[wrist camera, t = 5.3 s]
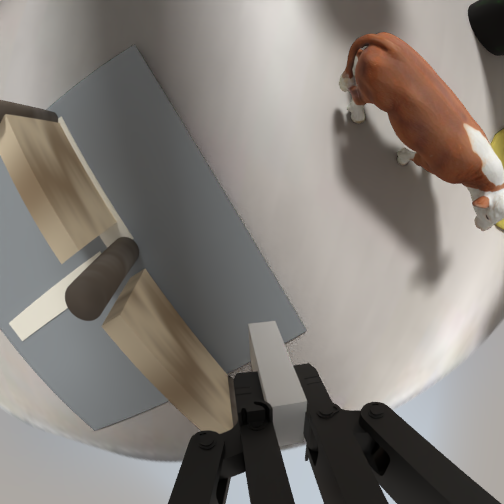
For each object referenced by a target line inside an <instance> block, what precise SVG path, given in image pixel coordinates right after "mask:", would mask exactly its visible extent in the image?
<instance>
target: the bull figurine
mask: <svg viewBox="0 0 504 504" xmlns="http://www.w3.org/2000/svg"><path fill="white" fill-rule="evenodd" d="M364 46H367V47H366V48H365V49H364V50H361V49H360V48H363V47H364ZM355 79H356V83H357V84H356V83H355ZM339 85H340V88H341V90H342V91H344V92H346V91H350V93H351V96H352V101H351V103H350V105H349V106H348V107H347V110H348V111H350V112H351V119H352V121H353V122H355V123H357V124H361V123H363V122H364V121H365V112H364V109H363V106H364V105H365V104H366V103H372V104H375V105H376V106H377V107H378V108H380V109H381V110H383V111H385V112H387V113H388V116H389V120H390V123H391V125H392V127H393V129H394V131H395V133H396V135H397V136H398V137H399V139H400V140H401V141H402V142H403V143H404V144H405V145H406V146H407V147H409V148H410V149H412V150H414V151H416V152H411V151H409V150H408V149H406V148H402V149H401V151H398V152H397V155H398V158H397V161H398V163H399V164H400V165H406V164H407V163H408V161H410V160H412V161H413V162H414V163H415V164H416V165H418V166H422V167H423V168H424V169H425V170H427V171H428V172H430V173H432V174H435V175H436V176H437V177H439V178H440V179H442V180H443V181H446V182H448V183H452V184H458V183H459V184H460V183H462V184H463V185H464V186H466V187H467V188H468V190H469V191H470V194H471V198H472V201H473V202H472V204H473V207H474V210H475V212H476V214H477V216H476V218H475V225H476V227H477V228H479V229H481V230H482V231H485V230H488V229H489V228H491V227H492V226H493V225H494V224H496V223H497V222H499V221H501V220H502V219H504V169H503V166H502V163H501V161H500V159H499V158H498V156H497V155H496V154H495V152H494V151H493V149H492V147H491V145H490V143H489V141H488V139H487V137H486V135H485V133H484V132H483V130H482V129H481V128H480V126H479V125H478V124H477V123H476V122H475V120H474V119H473V118H472V117H471V115H470V114H469V112H468V111H467V110H466V108H465V107H464V105H463V104H462V103H461V101H460V100H459V99H458V98H457V96H456V95H455V94H454V93H453V91H452V90H451V89H450V88H449V87H448V86H447V85H446V83H445V82H444V81H443V80H442V79H441V78H440V77H439V76H438V75H437V73H436V72H435V71H434V70H433V68H432V67H431V66H430V65H429V64H428V63H427V62H426V61H425V60H424V59H423V58H422V57H421V56H420V55H419V54H418V53H417V52H416V51H415V50H414V49H413V48H412V47H410V46H409V45H408V44H407V43H405V42H404V41H403V40H401V39H400V38H398V37H396V36H394V35H392V34H390V33H386V32H381V33H378V34H367V35H364V36H362V37H360V38H358V39H356V40H355V42H354V43H353V44H352V46H351V48H350V50H349V55H348V61H347V66H346V69H345V71H344V72H343V74H342V75H341V77H340V80H339Z"/></svg>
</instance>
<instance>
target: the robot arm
mask: <svg viewBox="0 0 504 504" xmlns="http://www.w3.org/2000/svg"><path fill="white" fill-rule="evenodd" d="M248 329H249V344H250V359H251V367H252V371H253V372H246V373H237V374H236V376H235V378H234V380H233V383H234V392H235V400H236V408H237V415H238V421H237V424H236V425H235V426H234V427H233V428H232V429H231V430H229V431H226V432H224V433H221V434H219V433H217V432H215V431H211V430H206V431H201V432H198V433H196V434H195V435H193V436H192V438H191V439H190V442H189V444H188V447H187V450H186V453H185V456H184V459H183V462H182V465H181V467H180V470H179V473H178V476H177V479H176V482H175V485H174V488H173V491H172V493H171V496H170V499H169V502H168V504H225V503H226V498H227V493H228V488H229V484H230V479H231V477H232V476H235V475H237V474H240V473H243V472H245V471H246V477H247V484H248V490H249V496H250V502H251V504H295V502H294V499H293V495H292V492H291V488H290V484H289V481H288V477H287V474H286V470H285V467H284V462H283V459H282V455H281V451H280V446H286V445H292V444H298V443H303V442H304V437H305V440H306V442H307V445H306V455H305V461H307V460H308V458H309V460H310V463H311V466H312V470H313V472H314V475H315V478H316V481H317V484H318V487H319V490H320V493H321V495H322V499H323V502H324V504H388V502H387V500H386V498H385V496H384V494H383V492H382V490H381V488H380V486H381V487H382V488H383V489H384V490H385V491H386V492H387V493H388V494H389V495H390V497H391V498H392V499H393V500H394V501H395V502H396V503H397V504H501V503H500V502H499V501H497V500H496V499H495V498H494V497H493V496H491V495H490V494H489V493H488V492H486V491H485V490H484V489H483V488H482V487H481V486H479V485H478V484H477V483H476V482H474V481H473V480H472V479H471V478H470V477H469V476H467V475H466V474H465V473H464V472H463V471H461V470H460V469H459V468H458V467H457V466H456V465H455V464H453V463H452V462H451V461H450V460H449V459H448V458H446V457H445V456H444V455H443V454H442V453H441V452H439V451H438V450H437V449H436V448H435V447H434V446H433V445H431V444H430V443H429V442H428V441H427V440H426V439H424V438H423V437H422V436H421V435H420V434H419V433H418V432H417V431H415V430H414V429H413V428H412V427H411V426H410V425H408V424H407V423H406V422H405V421H404V420H403V419H402V418H401V417H399V416H398V415H397V414H396V413H395V412H394V411H393V410H392V409H391V408H389V407H388V406H387V405H385V404H384V403H380V402H371V403H368V404H366V405H365V406H363V408H362V409H361V411H349V410H343V409H341V408H340V407H339V406H338V405H336V404H334V403H333V402H332V401H331V399H330V397H329V395H328V393H327V391H326V389H325V387H324V385H323V383H322V380H321V378H320V377H319V374H318V372H317V370H316V369H315V368H314V367H313V366H311V365H310V364H309V363H307V364H301V365H295V366H293V364H292V362H291V359H290V357H289V354H288V352H287V349H286V347H285V344H284V342H283V339H282V337H281V334H280V332H279V329H278V327H277V324H276V322H275V321H269V322H260V323H250V324H248ZM378 483H379V484H378ZM379 485H380V486H379Z"/></svg>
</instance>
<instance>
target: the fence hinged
mask: <svg viewBox="0 0 504 504" xmlns="http://www.w3.org/2000/svg"><path fill="white" fill-rule="evenodd" d="M102 328H103V329H104V330H105V331H106V333H107V334H108V335H109V336H110V337H111V339H112V340H113V341H114V342H115V343H116V345H117V346H118V347H119V348H120V349H121V350H122V352H123V353H124V354H125V355H126V356H127V357H128V358H129V359H130V361H131V362H132V363H133V364H134V365H135V366H136V367H137V368H138V369H139V370H140V372H141V373H142V374H143V375H144V376H145V377H146V378H147V379H148V380H149V381H150V382H151V383H152V384H153V385H154V386H155V387H156V388H157V389H158V390H159V391H160V392H161V393H162V394H163V395H164V396H165V397H166V398H167V399H168V400H169V401H170V402H171V403H172V404H173V405H174V406H175V407H176V408H177V409H178V410H179V411H180V412H181V413H182V414H183V415H184V416H185V417H187V418H188V419H189V420H190V421H191V422H192V423H193V424H194V425H195V426H196V427H198V428H199V429H200V430H201V431H206V430H211V431H215V432H217V433H219V434H221V433H224V432H226V431H229V430H231V429H232V428H233V427H234V426H235V425H236V424H237V421H238V415H237V408H236V400H235V392H234V383H233V379H232V378H231V377H230V376H228V375H227V374H226V372H225V371H224V370H223V369H222V368H221V366H220V365H219V364H218V363H217V362H216V361H215V359H214V358H213V357H212V356H211V354H210V353H209V352H208V351H207V350H206V348H205V347H204V346H203V345H202V343H201V342H200V341H199V340H198V338H197V337H196V336H195V335H194V333H193V332H192V331H191V329H190V328H189V327H188V326H187V324H186V323H185V322H184V320H183V319H182V318H181V317H180V315H179V314H178V313H177V311H176V310H175V309H174V307H173V306H172V305H171V303H170V302H169V301H168V299H167V298H166V297H165V295H164V294H163V292H162V291H161V290H160V288H159V287H158V286H157V284H156V283H155V281H154V280H153V279H152V277H151V276H150V274H149V273H148V272H147V270H146V269H143V270H142V271H140V272H139V273H137V274H135V275H134V276H132V277H131V278H130V279H129V281H128V282H127V284H126V285H125V287H124V289H123V290H122V292H121V294H120V295H119V297H118V299H117V300H116V302H115V304H114V305H113V307H112V309H111V310H110V312H109V314H108V316H107V317H106V319H105V321H104V322H103V324H102Z"/></svg>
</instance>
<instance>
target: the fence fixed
mask: <svg viewBox="0 0 504 504" xmlns="http://www.w3.org/2000/svg"><path fill="white" fill-rule="evenodd" d="M0 155H1V158H2V160H3V162H4V164H5V166H6V168H7V170H8V172H9V174H10V176H11V179H12V181H13V182H14V184H15V186H16V188H17V190H18V192H19V194H20V196H21V198H22V200H23V202H24V203H25V205H26V207H27V209H28V211H29V212H30V214H31V216H32V218H33V219H34V221H35V223H36V225H37V226H38V228H39V230H40V231H41V233H42V235H43V236H44V238H45V239H46V241H47V243H48V244H49V246H50V247H51V249H52V251H53V252H54V254H55V255H56V257H57V258H58V260H59V261H60V263H61V264H63V263H64V262H65V261H66V260H68V259H69V258H70V257H72V256H73V255H74V254H75V253H77V252H78V251H79V250H81V249H82V248H83V247H84V246H86V245H87V244H88V243H90V242H91V241H92V240H94V239H95V238H96V237H98V236H99V235H100V234H102V233H103V232H104V231H106V230H107V229H108V228H110V227H111V226H112V225H114V224H115V223H117V221H116V220H115V218H114V217H113V215H112V213H111V212H110V210H109V209H108V207H107V206H106V204H105V202H104V201H103V199H102V197H101V196H100V194H99V192H98V191H97V189H96V187H95V186H94V184H93V182H92V181H91V179H90V177H89V176H88V174H87V172H86V171H85V169H84V167H83V165H82V164H81V162H80V160H79V158H78V156H77V155H76V153H75V151H74V149H73V147H72V146H71V144H70V142H69V140H68V138H67V136H66V135H65V133H64V131H63V129H62V127H61V125H60V123H58V116H57V114H56V113H55V112H52V111H48V110H44V109H39V108H35V107H31V106H26V105H22V104H17V103H12V102H8V101H3V100H0ZM138 256H139V248H138V245H137V243H136V242H135V241H134V240H133V239H131V238H129V237H120V238H118V239H117V240H115V241H114V242H113V243H112V244H111V245H110V246H109V247H108V248H107V249H106V250H105V251H104V252H103V253H101V254H100V255H99V256H98V257H97V258H96V259H95V260H94V261H93V262H92V263H91V264H90V265H89V266H88V267H87V268H86V269H85V270H84V271H83V272H82V273H81V274H80V275H79V276H78V277H77V278H76V279H75V280H74V281H73V282H72V283H71V284H70V285H69V286H68V287H67V289H66V292H65V302H66V305H67V307H68V309H69V310H70V312H71V313H72V314H73V315H74V316H76V317H77V318H79V319H81V320H84V321H92V320H95V319H97V318H98V317H99V316H100V315H101V314H102V312H103V310H104V309H105V307H106V306H107V304H108V303H109V301H110V299H111V298H112V296H113V295H114V293H115V292H116V290H117V289H118V287H119V286H120V284H121V282H122V281H123V279H124V278H125V276H126V275H127V273H128V272H129V270H130V269H131V268H132V266H133V265H134V263H135V262H136V260H137V259H138Z"/></svg>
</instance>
